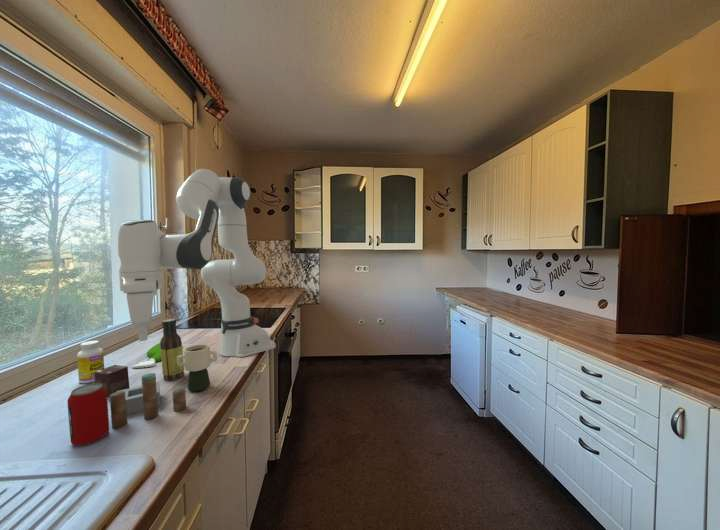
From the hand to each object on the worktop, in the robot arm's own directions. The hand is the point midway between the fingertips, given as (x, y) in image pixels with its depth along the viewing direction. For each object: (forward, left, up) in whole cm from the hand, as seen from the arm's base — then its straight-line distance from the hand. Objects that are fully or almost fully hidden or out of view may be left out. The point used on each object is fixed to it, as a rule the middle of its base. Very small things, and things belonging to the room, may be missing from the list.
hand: (144, 336), depth 79 cm
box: (+10, -23, -22) cm, 33 cm away
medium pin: (+6, +1, -21) cm, 22 cm away
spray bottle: (-2, -52, -22) cm, 57 cm away
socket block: (+3, -8, -21) cm, 23 cm away
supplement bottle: (+17, -39, -22) cm, 48 cm away
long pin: (0, +1, -21) cm, 21 cm away
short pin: (-7, +1, -21) cm, 22 cm away
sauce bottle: (-6, -24, -22) cm, 33 cm away
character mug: (-13, -10, -22) cm, 27 cm away
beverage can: (+11, +4, -22) cm, 24 cm away
